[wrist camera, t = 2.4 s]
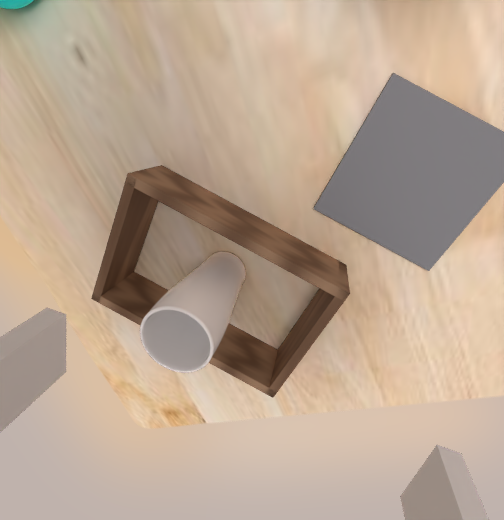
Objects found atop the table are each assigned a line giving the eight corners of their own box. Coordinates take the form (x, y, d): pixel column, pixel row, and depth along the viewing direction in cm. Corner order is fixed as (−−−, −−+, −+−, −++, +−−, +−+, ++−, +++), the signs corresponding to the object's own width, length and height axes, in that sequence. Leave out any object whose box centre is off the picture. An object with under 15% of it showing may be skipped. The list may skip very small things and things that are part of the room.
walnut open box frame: (125, 273, 44) (91, 298, 38) (161, 165, 37) (127, 173, 31) (280, 358, 44) (273, 397, 38) (346, 264, 37) (350, 293, 31)
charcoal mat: (313, 207, 35) (313, 208, 35) (392, 73, 30) (393, 72, 29) (427, 268, 35) (428, 271, 35) (529, 147, 29) (532, 147, 29)
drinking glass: (256, 292, 41) (221, 375, 27) (206, 295, 43) (150, 373, 29) (247, 241, 39) (204, 304, 25) (195, 246, 40) (128, 307, 27)
